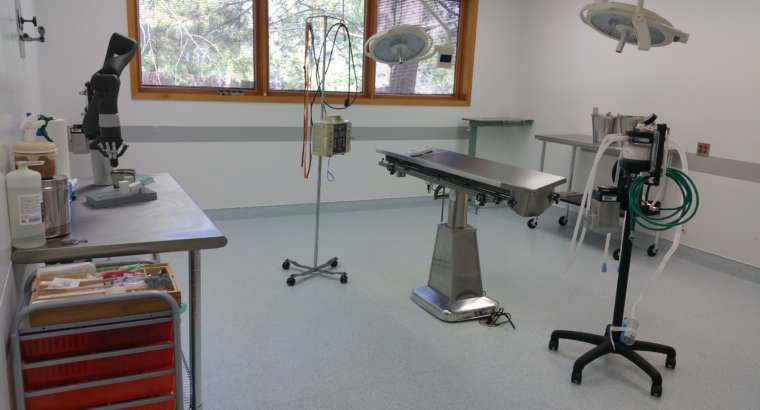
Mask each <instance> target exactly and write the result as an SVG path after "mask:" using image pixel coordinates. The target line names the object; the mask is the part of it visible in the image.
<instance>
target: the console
mask: <svg viewBox="0 0 760 410" xmlns="http://www.w3.org/2000/svg"><path fill="white" fill-rule="evenodd" d="M114 190H115V191H114ZM157 199H158V193H157V191H155V190H152V189H150V188H148V187H146V186H144V187H141V188H139V189H136V190H134V191H131V190H130V194H124V195H120V188H118V189H114V188H113V190H109V191H108V190H107V191H103V192H96V193H95V192H94V193H87V194H85V202H87V203H88V204H90V205H92V206H93V207H95V208H97V209H100V208H107V207H113V206H120V205H127V204H128V205H129V204H132V203H140V202H145V201H146V202H147V201H152V200H157Z"/></svg>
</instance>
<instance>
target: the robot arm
mask: <svg viewBox="0 0 760 410" xmlns="http://www.w3.org/2000/svg"><path fill="white" fill-rule="evenodd" d="M108 41H109V42H108V44H107V49H106V53H105V57H104V61H103V64H102V67H101V68H100V69H98V70H97V71H96V72H94V73H93V75H91V77H90V81H89V84H90V85H89V86H90V88H91V90H93V91H94V92H93V94H92V97H91V101H90V103H89V105H88V108H87V110H86V111H85V114H84V115H83V119H82V123H81V125H82V126H81V127H82V131H83V132H84V134H86V135H88V136H95V139H93V140H92V141H91V142H90V143H89V144H88V148H89V156H90V163H91V165H90V166H91V171H92V172H91V173H92V179H93V180H92V181H93V185H94V186H98V187H102V186H110V185H113V184H112V179H111V175H109V172H110V170H114V168H115V169H117V168H118V167H119V165H120V164H119V162H120V161H119V158H120V157H122V156H124V154H125V153H126V151H127V150H128V149H129V147H130V144H128V143H126V142H124V139H123V138H122V136H123V135H122V127H121V120H120V116H119V107H118V99H119V94H120V93H119V92H120V90H121V89H120V88H121V83H122V82H121V79H120V77H121V75H122V74H123V72H124V69H125V68H126V67H127V66H128V65H129V63H130V62H131V61H132V60H133V59H134V57H135V55H136V54H137V52H138V48H139V47H138V46H139V43H138V42H137V40H135V39H133V38H131V37H129V36H127V35H124V34H122V33H121V32H117V31H116V32H113V33H112V34H111V36H110V38H109V40H108ZM120 148H121V150H120V151H119V149H120Z"/></svg>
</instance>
